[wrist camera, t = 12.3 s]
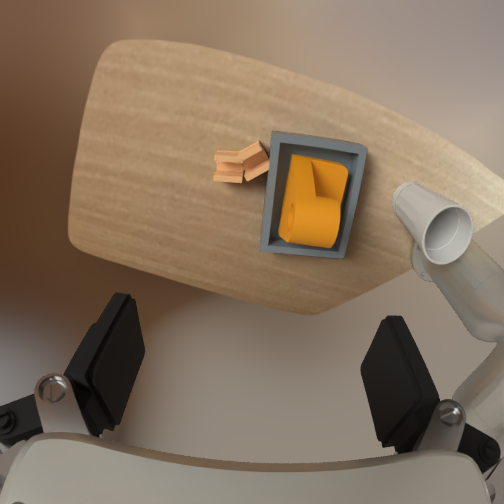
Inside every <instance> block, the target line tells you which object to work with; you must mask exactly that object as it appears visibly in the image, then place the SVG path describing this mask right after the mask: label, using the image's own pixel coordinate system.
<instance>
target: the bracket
mask: <svg viewBox="0 0 504 504" xmlns="http://www.w3.org/2000/svg"><path fill="white" fill-rule="evenodd" d="M347 177H348V170H347V168H346V167H345V166H343V165H342V164H341V163H339V162H334V161H329V160H324V159H319V158H313V157H308V156H302V155H296V154H292V157H291V162H290V168H289V172H288V175H287V181H286V186H285V192H284V197H283V203H282V208H281V218H280V223H279V229H278V232H279V236H280V237H281V238H282V239H284V240H285V241H286V242H288V243H296V244H303V245H310V246H317V247H324V248H331V247H332V246H333V244H334V242H335V240H336V237H337V234H338V230H339V224H340V206H341V202H342V198H343V194H344V189H345V185H346V181H347Z"/></svg>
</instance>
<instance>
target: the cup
mask: <svg viewBox="0 0 504 504" xmlns="http://www.w3.org/2000/svg"><path fill="white" fill-rule="evenodd" d="M392 208H393V211H394V213H395V214H396V216H397V217H398V218H399V219H400V220H401V221H402V223H403V224H404V225H405V227H406V228H407V229H408V231H409V232H410V234H411V235H412V236H413V238H414V239H415V241H416V242H417V244H418V245H419V247H420V248H421V250H422V251H423V253H424V254H425V256H426V257H427V259H428V260H429V261H431V262H432V263H435V264H440V265H441V264H448V263H450V262H453V261H454V260H456V259H457V258H459V257H460V256H461V255H462V254H463V253H464V252H465V250H466V249H467V247H468V245H469V244H470V241H471V239H472V235H473V219H472V216H471V214H470V212H469V211H468V210H467V209H466V208H465V207H463V206H461V205H459V204H457V203H456V202H454V201H452V200H450V199H448V198H446V197H444V196H442V195H440V194H438V193H436V192H434V191H432V190H430V189H428V188H426V187H424V186H423V185H421V184H420V183H418V182H414V181H409V182H406V183H403V184H402V185H400V186H399V187H398V188H397V190H396V191H395V193H394V195H393V199H392Z"/></svg>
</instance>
